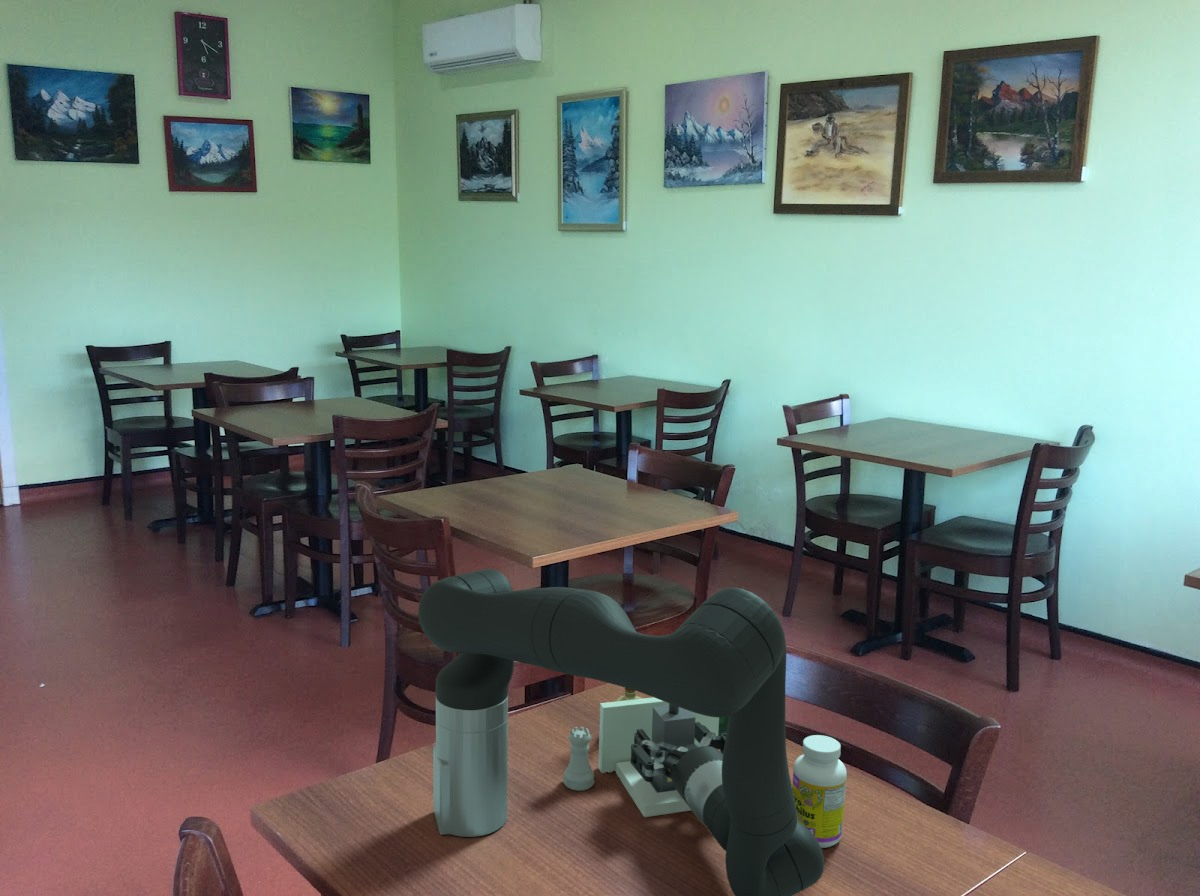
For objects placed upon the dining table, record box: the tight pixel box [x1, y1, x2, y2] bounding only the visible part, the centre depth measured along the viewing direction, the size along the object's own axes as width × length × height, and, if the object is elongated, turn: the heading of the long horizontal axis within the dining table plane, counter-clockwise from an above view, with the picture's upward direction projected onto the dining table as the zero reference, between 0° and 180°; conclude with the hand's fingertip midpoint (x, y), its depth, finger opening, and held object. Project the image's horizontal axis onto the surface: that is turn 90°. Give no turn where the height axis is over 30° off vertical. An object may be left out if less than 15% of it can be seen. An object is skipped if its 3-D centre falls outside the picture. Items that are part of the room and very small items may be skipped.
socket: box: [597, 696, 719, 818], centre depth 139 cm, size 18×14×10 cm
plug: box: [651, 703, 695, 792], centre depth 138 cm, size 4×5×13 cm
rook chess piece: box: [562, 726, 596, 792], centre depth 139 cm, size 4×4×8 cm
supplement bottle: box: [791, 734, 848, 849], centre depth 127 cm, size 7×7×13 cm
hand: (667, 731), depth 139 cm, fingers open, 8 cm apart
